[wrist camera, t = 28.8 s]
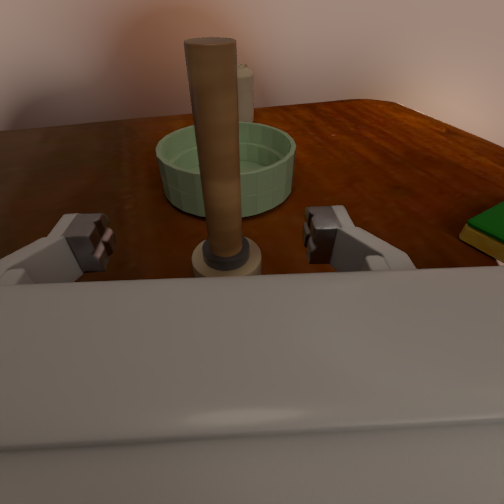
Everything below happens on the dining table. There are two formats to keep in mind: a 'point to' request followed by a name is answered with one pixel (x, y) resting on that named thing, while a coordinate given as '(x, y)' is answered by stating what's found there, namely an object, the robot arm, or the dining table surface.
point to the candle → (245, 93)
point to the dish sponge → (487, 232)
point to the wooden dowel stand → (219, 159)
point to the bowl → (251, 168)
